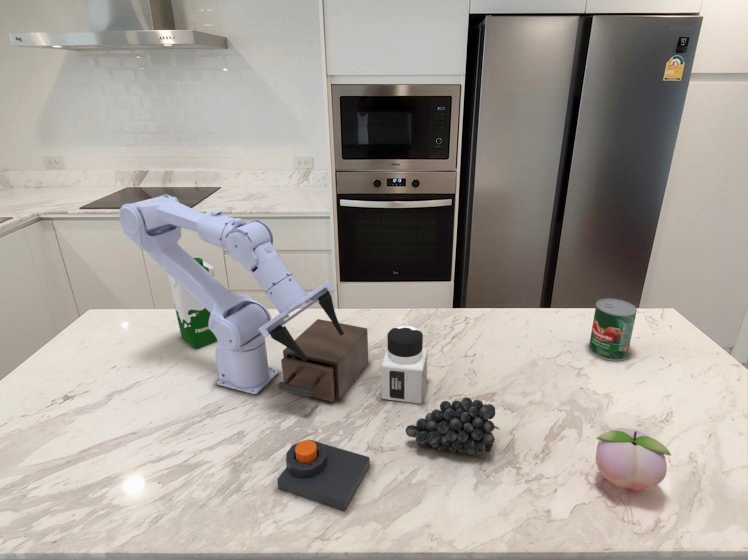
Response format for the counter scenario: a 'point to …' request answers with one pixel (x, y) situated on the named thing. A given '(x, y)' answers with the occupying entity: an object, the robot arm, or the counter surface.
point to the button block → (325, 475)
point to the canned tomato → (612, 329)
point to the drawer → (308, 378)
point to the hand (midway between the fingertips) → (324, 347)
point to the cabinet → (335, 351)
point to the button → (306, 451)
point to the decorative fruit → (631, 459)
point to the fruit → (457, 427)
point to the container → (404, 366)
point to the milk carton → (192, 313)
